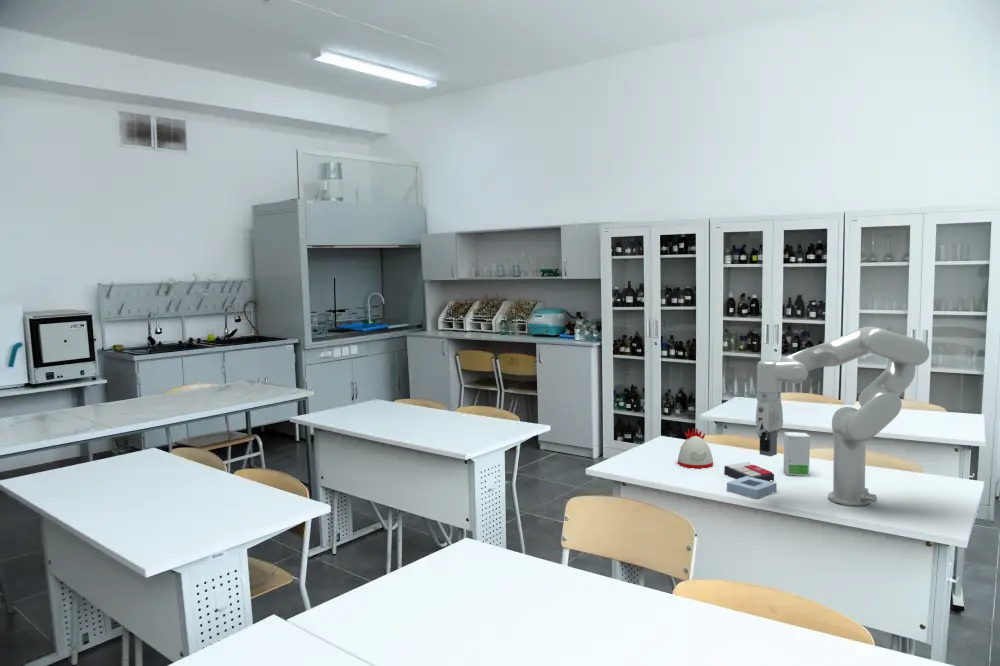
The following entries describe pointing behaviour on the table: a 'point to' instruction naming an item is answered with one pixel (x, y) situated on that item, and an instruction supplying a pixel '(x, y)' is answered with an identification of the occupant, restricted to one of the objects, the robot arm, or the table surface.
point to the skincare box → (796, 453)
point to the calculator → (747, 471)
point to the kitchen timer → (695, 452)
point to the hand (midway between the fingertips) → (768, 449)
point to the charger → (771, 444)
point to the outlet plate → (751, 487)
